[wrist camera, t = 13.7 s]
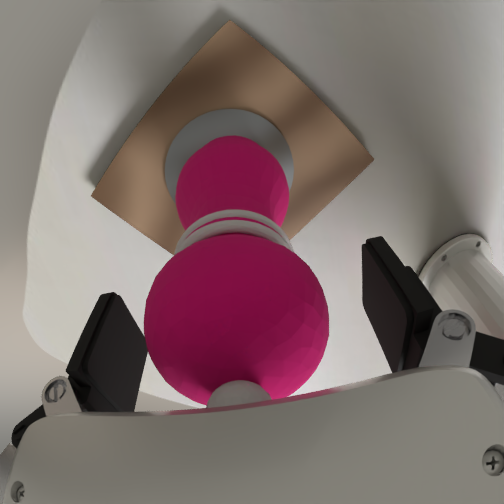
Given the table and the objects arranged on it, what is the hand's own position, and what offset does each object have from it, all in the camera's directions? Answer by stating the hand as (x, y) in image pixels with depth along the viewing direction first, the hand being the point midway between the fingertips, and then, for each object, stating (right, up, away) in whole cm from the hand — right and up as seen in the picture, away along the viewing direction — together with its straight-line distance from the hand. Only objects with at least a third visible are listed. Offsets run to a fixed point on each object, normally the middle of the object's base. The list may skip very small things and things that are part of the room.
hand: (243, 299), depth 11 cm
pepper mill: (-1, +8, +12) cm, 15 cm away
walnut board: (-2, +9, +14) cm, 16 cm away
